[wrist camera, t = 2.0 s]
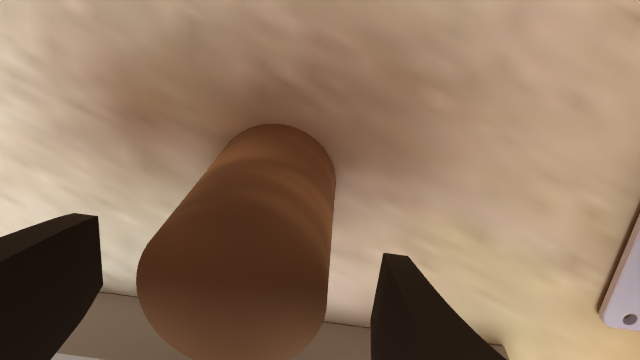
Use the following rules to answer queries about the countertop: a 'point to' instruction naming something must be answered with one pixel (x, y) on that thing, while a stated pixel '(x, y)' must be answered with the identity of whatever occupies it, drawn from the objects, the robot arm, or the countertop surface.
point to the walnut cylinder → (245, 252)
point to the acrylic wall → (158, 356)
